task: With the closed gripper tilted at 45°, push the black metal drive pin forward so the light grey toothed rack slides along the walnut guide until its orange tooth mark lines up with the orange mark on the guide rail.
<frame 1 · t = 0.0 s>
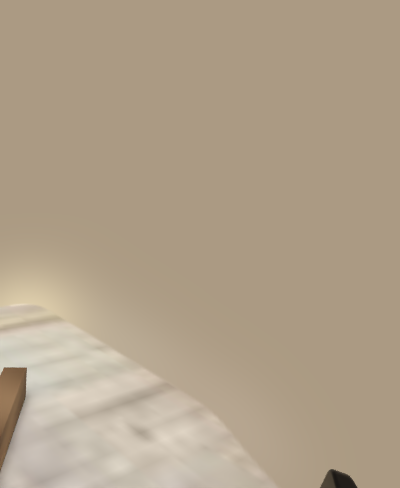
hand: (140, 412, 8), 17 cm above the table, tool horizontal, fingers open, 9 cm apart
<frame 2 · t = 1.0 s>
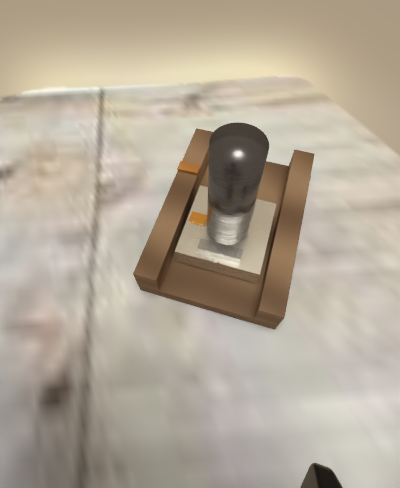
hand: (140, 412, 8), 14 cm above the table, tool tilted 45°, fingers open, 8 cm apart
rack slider: (231, 200, 20), point 6 cm above the table, slide at 0.0 cm
walnut guide: (229, 228, 26), on the table
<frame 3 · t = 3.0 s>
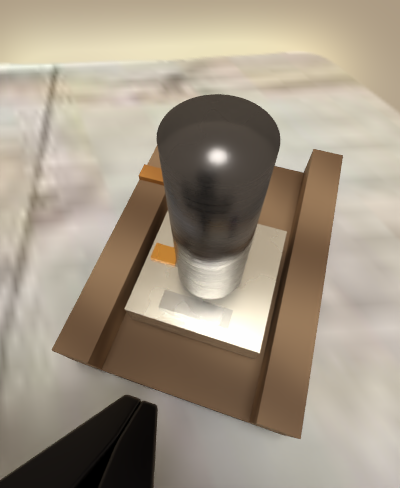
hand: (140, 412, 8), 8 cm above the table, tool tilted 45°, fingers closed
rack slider: (212, 233, 12), point 6 cm above the table, slide at 0.0 cm
walnut guide: (217, 263, 18), on the table
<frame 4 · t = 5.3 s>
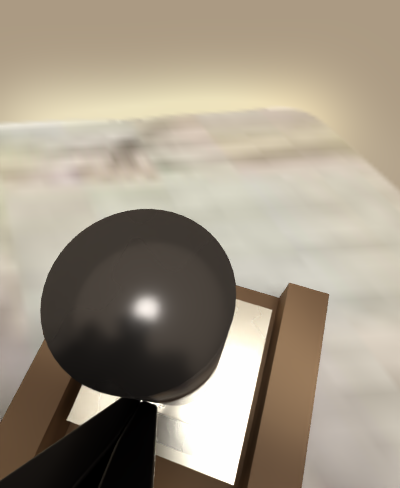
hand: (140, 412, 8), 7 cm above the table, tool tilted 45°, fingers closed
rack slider: (168, 345, 9), point 6 cm above the table, slide at 4.3 cm
walnut guide: (158, 437, 13), on the table
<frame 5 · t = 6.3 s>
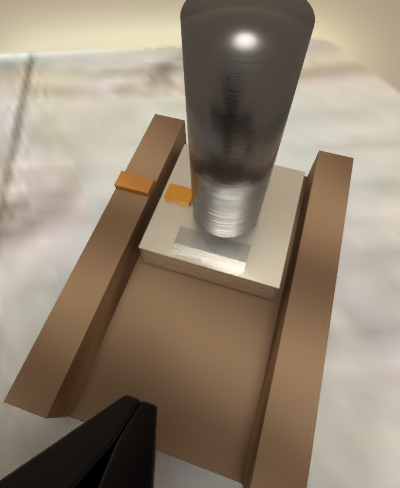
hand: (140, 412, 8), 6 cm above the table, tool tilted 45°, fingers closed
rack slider: (231, 159, 12), point 6 cm above the table, slide at 4.3 cm
walnut guide: (207, 284, 16), on the table
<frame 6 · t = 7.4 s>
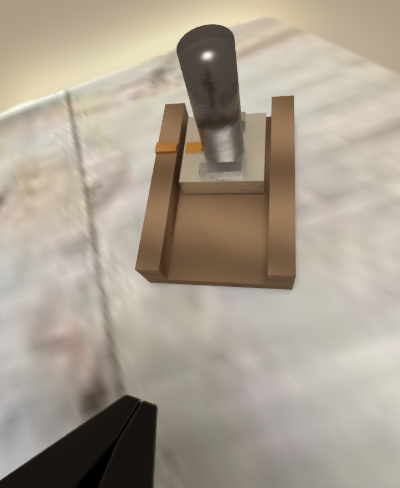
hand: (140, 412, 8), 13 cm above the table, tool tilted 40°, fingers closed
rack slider: (217, 114, 21), point 6 cm above the table, slide at 4.3 cm
walnut guide: (224, 198, 25), on the table
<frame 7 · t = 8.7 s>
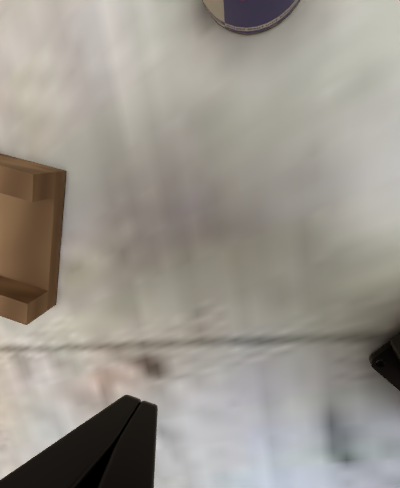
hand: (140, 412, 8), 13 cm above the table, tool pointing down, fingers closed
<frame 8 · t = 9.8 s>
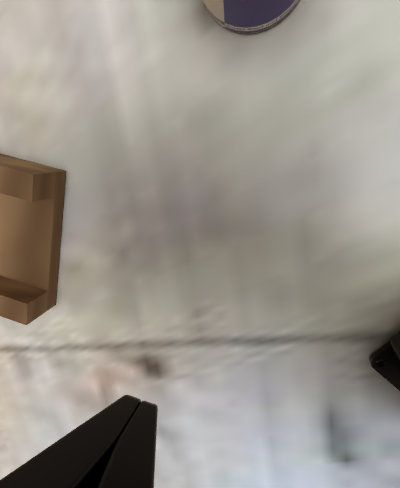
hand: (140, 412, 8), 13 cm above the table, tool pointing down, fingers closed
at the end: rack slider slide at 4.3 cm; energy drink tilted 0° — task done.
